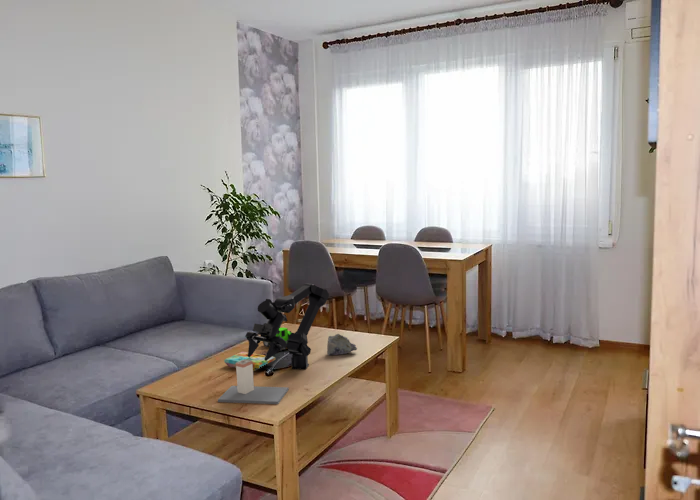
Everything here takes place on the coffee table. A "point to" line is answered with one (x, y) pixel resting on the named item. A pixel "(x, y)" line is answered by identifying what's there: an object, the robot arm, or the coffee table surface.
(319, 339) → the coffee table surface
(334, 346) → the mineral rock
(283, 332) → the toy tractor
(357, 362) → the coffee table surface
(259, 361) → the puzzle game
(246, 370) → the card box
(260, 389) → the mat
